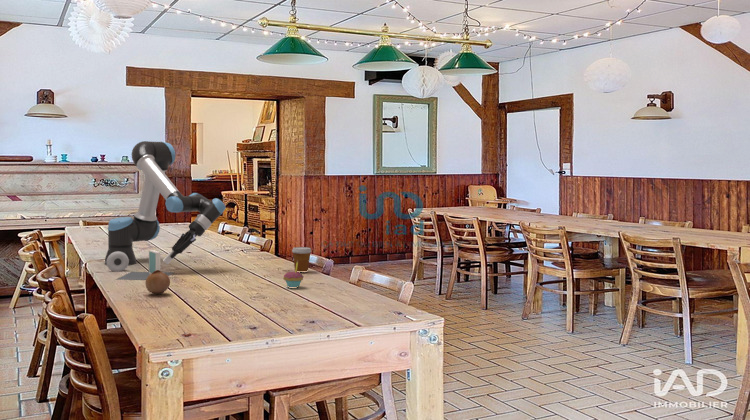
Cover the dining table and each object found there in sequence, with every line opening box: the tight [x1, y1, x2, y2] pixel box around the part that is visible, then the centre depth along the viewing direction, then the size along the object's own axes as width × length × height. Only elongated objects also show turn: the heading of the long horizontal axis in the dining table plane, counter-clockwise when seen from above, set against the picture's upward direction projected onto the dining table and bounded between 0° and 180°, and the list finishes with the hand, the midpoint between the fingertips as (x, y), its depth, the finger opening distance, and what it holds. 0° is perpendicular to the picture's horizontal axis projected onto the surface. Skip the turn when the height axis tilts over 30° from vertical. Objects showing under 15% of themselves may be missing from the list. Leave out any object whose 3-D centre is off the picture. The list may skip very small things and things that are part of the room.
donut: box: [106, 251, 129, 272], centre depth 327 cm, size 10×4×10 cm, turn 114°
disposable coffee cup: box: [291, 246, 312, 271], centre depth 340 cm, size 10×10×12 cm
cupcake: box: [282, 261, 304, 287], centre depth 298 cm, size 9×8×12 cm
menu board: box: [148, 249, 161, 274], centre depth 318 cm, size 2×10×11 cm, turn 36°
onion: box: [144, 269, 171, 295], centre depth 276 cm, size 10×9×10 cm
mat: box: [115, 271, 175, 281], centre depth 316 cm, size 22×20×1 cm
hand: (165, 262), depth 321 cm, fingers closed
